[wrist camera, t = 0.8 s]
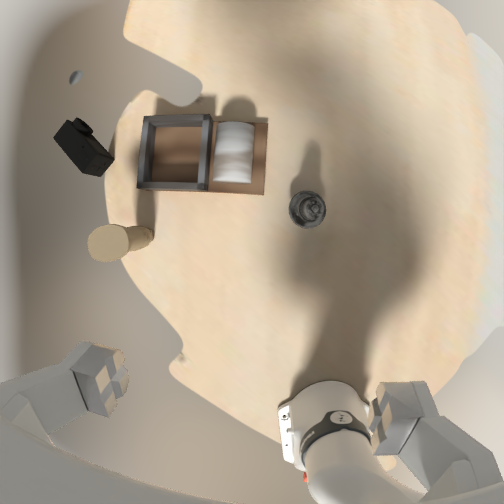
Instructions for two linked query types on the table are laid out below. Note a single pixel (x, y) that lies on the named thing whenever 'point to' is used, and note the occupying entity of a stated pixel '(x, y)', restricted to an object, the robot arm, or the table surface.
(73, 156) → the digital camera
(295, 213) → the dark grey chess piece
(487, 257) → the table surface
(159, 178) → the base
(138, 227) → the handle
